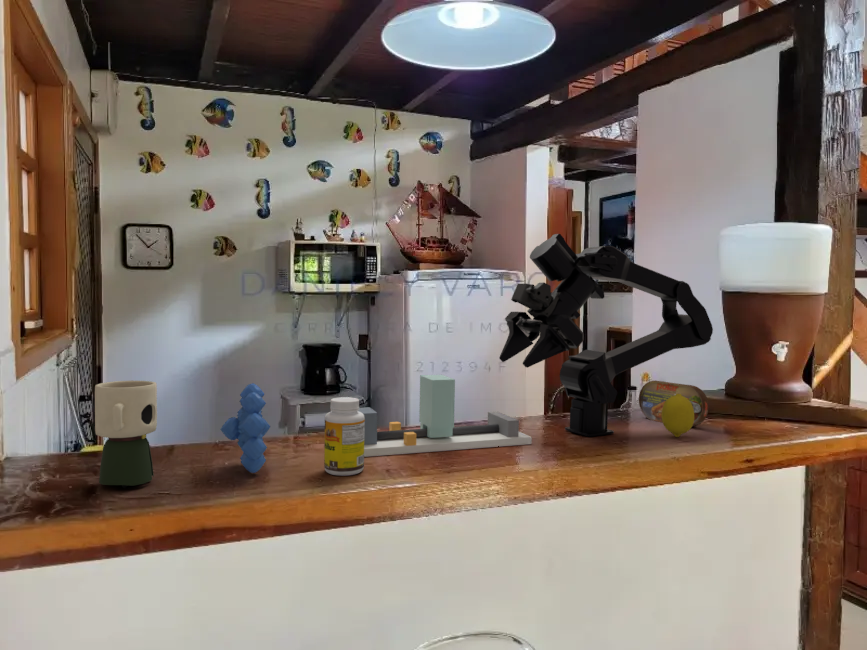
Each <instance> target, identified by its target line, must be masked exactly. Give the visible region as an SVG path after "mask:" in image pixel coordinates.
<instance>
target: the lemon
mask: <svg viewBox="0 0 867 650" xmlns="http://www.w3.org/2000/svg"><path fill="white" fill-rule="evenodd" d="M662 422H663V423H662ZM662 422H661V423H662V425H663V427H664V428H665V429H666V430H667V431H668V432H669V433H672V435H673V436H674V437H675V438H679V437H681V436H682V435H684V434H686V433H687V432H689V431H690V430H691V429H692V427H694V426H693V423H694V409H693V406H692V404H691V402H690V401H689V400H688V399H687V398H685V397H684V396H682V395H681V394H676V395H675V396H672V397H670V398H668V399H667V400H666V401H665V403H664V405H663V409H662Z"/></svg>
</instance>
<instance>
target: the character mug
mask: <svg viewBox="0 0 867 650" xmlns="http://www.w3.org/2000/svg"><path fill="white" fill-rule="evenodd" d="M157 387H158V385H157V382H156V381H150V380H149V381H148V380H116V381H108V382H100V383H97V384H95V386H94V425H95V426H94V431H95V435H96V436H98V437H101V438H107V439H106V441H105V442H104V444H103V447H102V454H101V460H100V466H99V467H100V468H99V477H98V483H99V484H100V485H101V486H102V485H104V486H105V485H106V486H121V487H122V488H123V489H125V488H127V487H128V486H131V487H132V486H138V485H143V484H147V483H148V482H149V483H150V482H151V481H153V478H154V477H155V474H154V467H153V457H152V452H151V445H150V442H149V440H148V438H147V435H149V434H151V433H153V432H155V431H156V430H157V426H158V422H157V421H158V406H157V405H158V404H157V403H158V400H157V399H158V397H157V396H158V395H157V394H158V393H157V392H158V391H157V389H158V388H157Z"/></svg>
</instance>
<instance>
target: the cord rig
mask: <svg viewBox="0 0 867 650" xmlns="http://www.w3.org/2000/svg"><path fill="white" fill-rule="evenodd" d="M359 412H361V413H363V414H364V417H365V429H364V458H365V457H366V458H367V457H377V456H378V457H379V456H391V455H392V456H393V455H394V456H395V455H406V454H416V453H417V454H418V453H419V454H420V453H431V452H433V453H434V452H445V451H455V450H456V451H457V450H469V449H470V450H471V449H472V450H473V449H482V448H483V449H484V448H495V447H496V448H498V446H499V447H511V446H523V445H532V444H533V443H532V441H533V440H532V436H530V435H528V434H525V433H523V432H521V431H519V428H520V426H519V425H520V422H519V421H520V419H517V418H514V417H512V416H509V415H507V414H505V413H502V412H500V411H488V412H487V424H480V425H464V426H462V425H461V426H454V428H453V435H452V436H450V437H435V438H429V437H428V436H427V429H420V428H413V429H412V428H411V429H402V422H400V421H390V422H389V423H388V425H389V426H388V429H389V430H382V431H378V412H377V411H376V410H374V409H373V408H372V407H370V406H369V407H359Z"/></svg>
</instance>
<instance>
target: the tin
mask: <svg viewBox="0 0 867 650" xmlns="http://www.w3.org/2000/svg"><path fill="white" fill-rule="evenodd" d="M676 394H681V395H682V396H684V397H685V398H687V399H688V400H689V401H690V402H691V404H692V406H693V409H694V423H693V426H692V427H696V426H699V425H701V424H702V423H703V422H704V421H705V420H706V419H707V418H708V417H707V416H708V413H709V406H710V405H709V399H708V397H707V395H706V393H705V392H704V390H702V389H701V388H699V387H698V386H696V385H693V384H692V385H691V384H684V383H676V382H670V381H669V382H668V381H662V380H650V381H647V382H646V383H645V384H644V385H642V387H641V389H640V391H639V395H638V405H639V409H640V410H641V412H642V414H643V415H644V417H646V418H647V419H648V420H650V421H653V422H658V423H662V424H663V422H662V409H663V405H664V403H665V401H666V400H667V399H668V398H670V397H672V396H675V395H676Z"/></svg>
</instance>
